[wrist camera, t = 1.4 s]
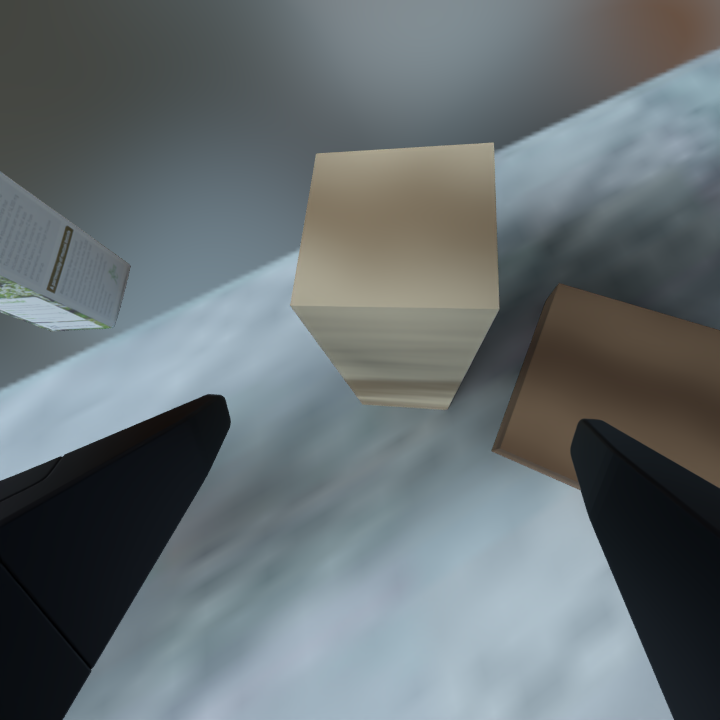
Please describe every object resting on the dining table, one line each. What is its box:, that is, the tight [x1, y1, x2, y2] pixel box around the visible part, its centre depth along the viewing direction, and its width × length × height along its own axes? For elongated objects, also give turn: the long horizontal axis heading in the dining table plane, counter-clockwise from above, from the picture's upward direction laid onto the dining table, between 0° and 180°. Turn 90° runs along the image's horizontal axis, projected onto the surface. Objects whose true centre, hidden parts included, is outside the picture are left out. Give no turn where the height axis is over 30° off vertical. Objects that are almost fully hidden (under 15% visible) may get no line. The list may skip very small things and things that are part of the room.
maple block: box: [290, 143, 499, 410], centre depth 15 cm, size 5×5×13 cm
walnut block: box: [492, 283, 720, 490], centre depth 18 cm, size 10×10×2 cm
